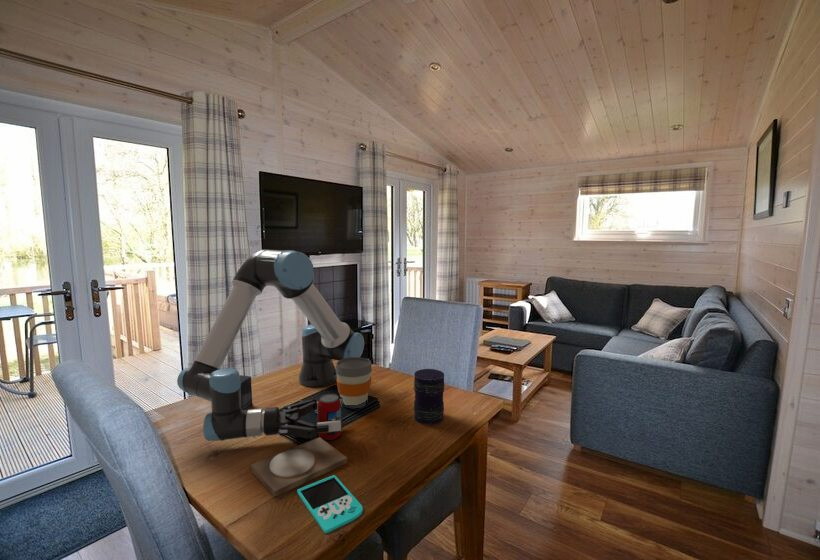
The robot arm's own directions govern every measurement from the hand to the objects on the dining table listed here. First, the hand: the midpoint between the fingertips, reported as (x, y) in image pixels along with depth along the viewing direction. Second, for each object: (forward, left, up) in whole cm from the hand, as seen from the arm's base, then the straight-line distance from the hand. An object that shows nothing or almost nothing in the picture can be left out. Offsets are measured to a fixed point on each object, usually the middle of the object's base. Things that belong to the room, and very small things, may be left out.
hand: (339, 414), depth 118 cm
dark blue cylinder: (-27, +10, -7) cm, 30 cm away
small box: (+17, -41, -7) cm, 44 cm away
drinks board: (+17, +6, -7) cm, 19 cm away
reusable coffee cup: (-15, -15, -7) cm, 22 cm away
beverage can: (+3, -2, -7) cm, 7 cm away
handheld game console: (+18, +23, -7) cm, 31 cm away
